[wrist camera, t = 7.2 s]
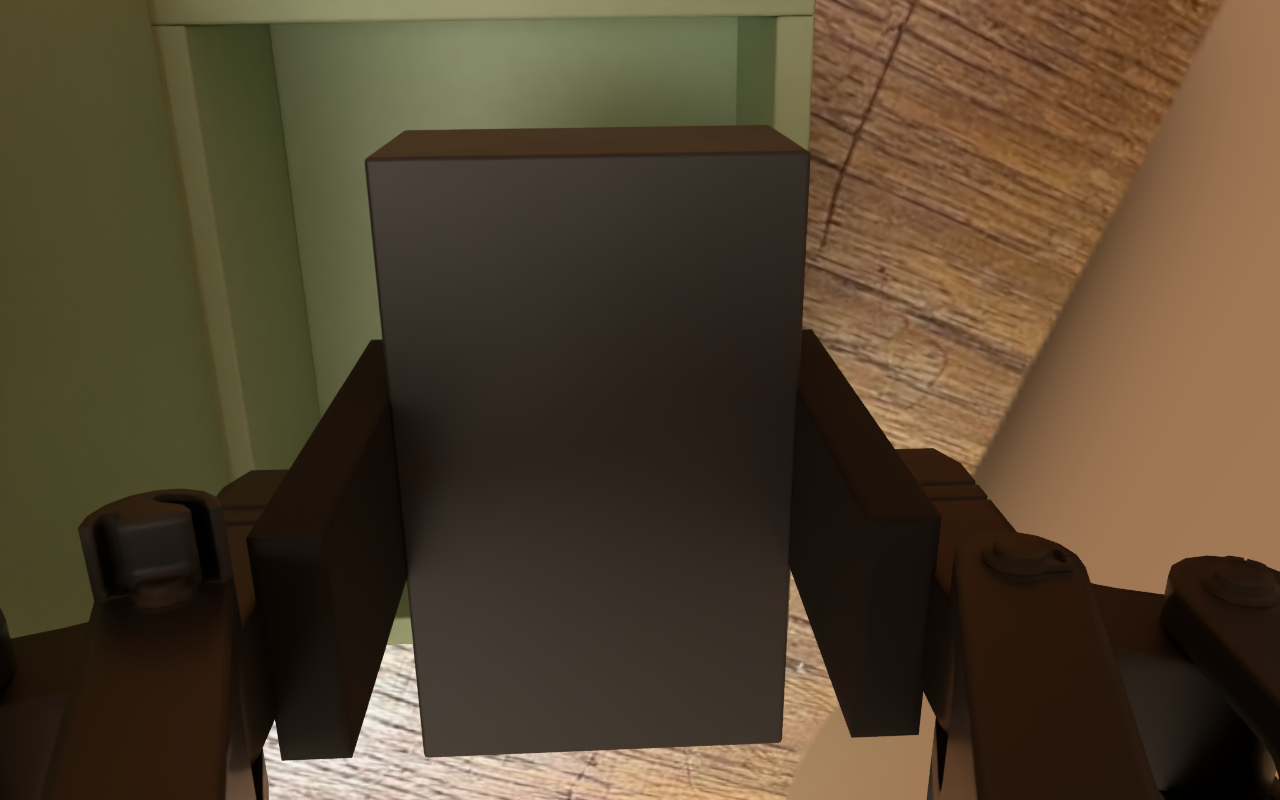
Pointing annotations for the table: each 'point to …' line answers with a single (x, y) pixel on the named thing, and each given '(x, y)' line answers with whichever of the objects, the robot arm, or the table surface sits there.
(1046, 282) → the table surface
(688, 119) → the case
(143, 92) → the cover
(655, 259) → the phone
